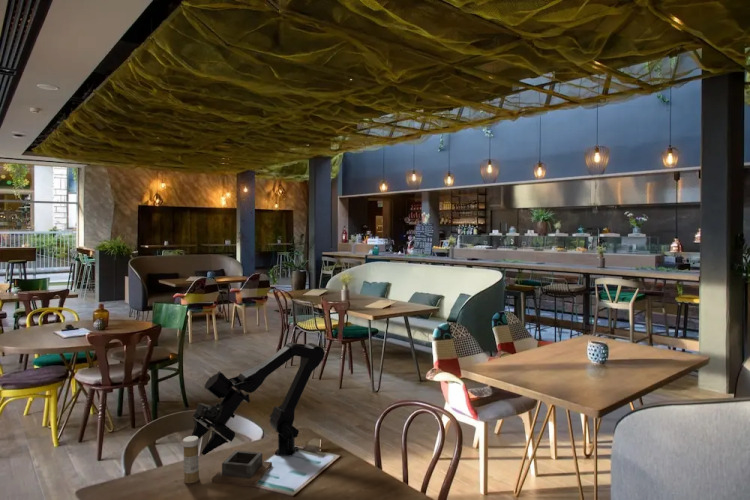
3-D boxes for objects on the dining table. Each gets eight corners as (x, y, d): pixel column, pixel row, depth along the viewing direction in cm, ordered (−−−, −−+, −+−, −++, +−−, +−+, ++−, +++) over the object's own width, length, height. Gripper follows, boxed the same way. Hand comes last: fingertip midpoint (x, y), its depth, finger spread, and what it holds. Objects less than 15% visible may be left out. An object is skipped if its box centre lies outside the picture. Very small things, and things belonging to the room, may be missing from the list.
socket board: (232, 462, 174) (232, 446, 174) (271, 465, 172) (271, 450, 171) (211, 482, 161) (211, 466, 160) (254, 486, 158) (254, 470, 158)
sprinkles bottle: (197, 475, 165) (197, 434, 164) (200, 481, 161) (199, 439, 160) (182, 479, 163) (181, 437, 162) (185, 485, 159) (184, 442, 158)
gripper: (198, 386, 172) (165, 427, 165) (226, 400, 159) (191, 446, 152) (220, 404, 178) (189, 445, 171) (248, 419, 165) (216, 464, 158)
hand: (196, 449), depth 163 cm, fingers open, 9 cm apart
